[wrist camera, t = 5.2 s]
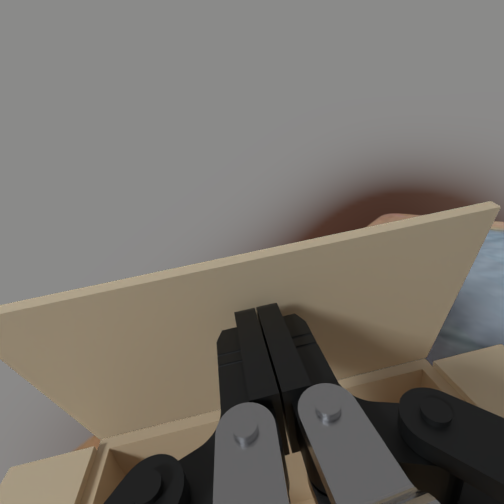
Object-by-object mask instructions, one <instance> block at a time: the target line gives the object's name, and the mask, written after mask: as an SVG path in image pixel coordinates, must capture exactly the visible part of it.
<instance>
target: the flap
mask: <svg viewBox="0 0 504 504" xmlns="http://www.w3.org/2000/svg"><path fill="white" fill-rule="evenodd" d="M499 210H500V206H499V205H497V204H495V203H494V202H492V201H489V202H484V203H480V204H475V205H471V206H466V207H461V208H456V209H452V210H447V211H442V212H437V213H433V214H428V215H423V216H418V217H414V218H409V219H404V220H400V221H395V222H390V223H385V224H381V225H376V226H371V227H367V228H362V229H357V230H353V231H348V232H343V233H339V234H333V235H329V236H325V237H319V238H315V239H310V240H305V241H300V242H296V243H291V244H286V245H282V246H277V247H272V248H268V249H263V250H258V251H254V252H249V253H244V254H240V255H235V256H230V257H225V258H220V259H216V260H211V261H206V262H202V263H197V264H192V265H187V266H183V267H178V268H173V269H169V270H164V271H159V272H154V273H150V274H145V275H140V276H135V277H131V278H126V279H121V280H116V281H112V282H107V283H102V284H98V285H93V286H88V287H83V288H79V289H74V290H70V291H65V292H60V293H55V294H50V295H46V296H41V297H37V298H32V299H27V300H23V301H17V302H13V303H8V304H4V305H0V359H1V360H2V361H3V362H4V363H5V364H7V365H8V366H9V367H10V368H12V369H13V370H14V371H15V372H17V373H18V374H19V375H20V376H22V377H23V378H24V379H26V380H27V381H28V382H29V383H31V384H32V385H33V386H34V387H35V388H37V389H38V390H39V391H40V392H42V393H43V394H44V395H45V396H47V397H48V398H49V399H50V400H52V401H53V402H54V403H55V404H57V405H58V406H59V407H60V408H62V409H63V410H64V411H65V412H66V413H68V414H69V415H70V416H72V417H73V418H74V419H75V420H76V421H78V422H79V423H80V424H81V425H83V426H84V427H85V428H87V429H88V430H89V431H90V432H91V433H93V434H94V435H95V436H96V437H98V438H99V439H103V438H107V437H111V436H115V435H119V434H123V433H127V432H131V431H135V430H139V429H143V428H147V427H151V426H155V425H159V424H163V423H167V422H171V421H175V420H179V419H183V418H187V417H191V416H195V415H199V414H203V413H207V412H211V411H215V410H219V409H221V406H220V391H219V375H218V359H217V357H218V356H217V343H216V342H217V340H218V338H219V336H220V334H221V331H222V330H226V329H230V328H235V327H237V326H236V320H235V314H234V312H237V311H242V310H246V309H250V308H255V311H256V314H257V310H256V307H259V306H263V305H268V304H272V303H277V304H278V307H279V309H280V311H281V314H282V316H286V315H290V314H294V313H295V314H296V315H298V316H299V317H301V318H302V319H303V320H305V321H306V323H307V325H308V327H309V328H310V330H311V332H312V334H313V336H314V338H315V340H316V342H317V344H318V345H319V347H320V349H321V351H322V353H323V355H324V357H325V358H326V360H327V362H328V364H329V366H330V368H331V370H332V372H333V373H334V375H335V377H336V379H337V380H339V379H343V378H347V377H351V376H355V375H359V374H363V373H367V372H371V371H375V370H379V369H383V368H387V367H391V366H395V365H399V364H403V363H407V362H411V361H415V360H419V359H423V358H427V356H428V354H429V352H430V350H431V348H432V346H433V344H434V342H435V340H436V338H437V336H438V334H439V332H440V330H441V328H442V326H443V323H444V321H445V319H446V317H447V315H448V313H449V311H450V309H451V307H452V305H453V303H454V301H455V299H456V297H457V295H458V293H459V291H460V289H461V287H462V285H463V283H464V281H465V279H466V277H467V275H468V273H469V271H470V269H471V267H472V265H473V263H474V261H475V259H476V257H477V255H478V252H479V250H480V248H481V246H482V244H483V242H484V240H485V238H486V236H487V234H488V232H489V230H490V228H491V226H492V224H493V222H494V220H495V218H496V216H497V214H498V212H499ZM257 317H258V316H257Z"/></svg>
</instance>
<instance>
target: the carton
mask: <svg viewBox="0 0 504 504" xmlns="http://www.w3.org/2000/svg"><path fill="white" fill-rule="evenodd" d="M337 381H338V382H339V384H340V385H341V386H342V387H343V388H344V389H346V390H347V391H349V392H350V393H351V394H352V395H353V396H355V397H357V398H360V399H363V400H367V401H374V402H390V403H399V401H400V398H401V397H402V395H403V394H404V393H405V392H407V391H408V390H410V389H414V388H419V387H425V388H432V389H436V390H439V391H442V392H445V393H447V394H449V395H452V396H454V397H456V398H459V399H461V400H463V401H466V402H468V403H470V404H472V405H475V406H477V407H479V408H482V409H484V410H486V411H489V412H491V413H493V414H496V415H498V416H500V417H503V418H504V345H502V344H499V345H495V346H491V347H487V348H483V349H479V350H475V351H471V352H467V353H463V354H459V355H455V356H451V357H447V358H443V359H439V360H435V361H433V366H432V365H431V364H430V363H429V362H428V361H427V360H426V359H421V360H417V361H413V362H409V363H405V364H401V365H397V366H393V367H389V368H385V369H381V370H377V371H373V372H369V373H365V374H361V375H357V376H353V377H349V378H345V379H341V380H337ZM220 415H221V410H217V411H213V412H209V413H205V414H201V415H197V416H193V417H189V418H185V419H181V420H177V421H173V422H169V423H165V424H161V425H157V426H153V427H149V428H145V429H141V430H137V431H133V432H129V433H125V434H121V435H117V436H113V437H109V438H105V439H101V441H100V444H99V447H98V450H96V449H95V447H94V446H93V447H89V448H86V449H82V450H78V451H74V452H70V453H66V454H62V455H58V456H54V457H50V458H46V459H42V460H38V461H34V462H30V463H26V464H22V465H18V466H14V467H10V469H9V470H8V472H7V474H6V476H5V477H4V479H3V481H2V483H1V484H0V504H104V502H105V501H106V500H107V499H108V497H109V496H110V495H111V493H112V492H113V491H114V490H115V488H116V487H117V486H118V485H119V483H120V482H121V481H122V480H123V478H124V477H125V476H126V475H127V473H128V472H129V471H130V470H131V469H132V468H133V467H134V466H135V465H136V464H138V463H139V462H141V461H142V460H144V459H146V458H147V457H150V456H153V455H157V454H167V455H171V456H173V457H174V458H176V459H177V460H180V459H182V458H183V457H185V456H186V455H188V454H190V453H191V452H193V451H194V450H196V449H197V448H199V447H200V446H202V445H203V444H204V443H205V442H206V441H207V440H208V439H209V438H210V437H211V436H212V434H213V433H214V431H215V430H216V428H217V425H218V423H219V420H220ZM286 435H287V432H286ZM287 440H288V436H287ZM288 446H289V452H290V454H289V455H285V460H286V465H287V471H288V476H289V482H290V490H289V496H290V502H291V504H315V501H314V498H313V495H312V493H311V490H310V487H309V484H308V479H307V471H306V467H305V464H304V461H303V458H302V454H301V451H299V452H296V453H292V451H291V447H290V443H289V440H288Z"/></svg>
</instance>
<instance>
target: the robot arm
mask: <svg viewBox="0 0 504 504" xmlns="http://www.w3.org/2000/svg"><path fill="white" fill-rule="evenodd" d="M256 310H257V314H256V311H255V308H250V309H246V310H242V311H237V312H234V314H235V320H236V326H237V327H235V328H230V329H226V330H222V331H221V334H220V336H219V338H218V340H217V342H216V343H217V356H218V357H217V359H218V375H219V391H220V406H221V415H220V420H219V423H218V425H217V428H216V430H215V431H214V433H213V434H212V436H211V437H210V438H209V439H208V440H207V441H206V442H205V443H204V444H203V445H202V446H200V447H199V448H197V449H196V450H194V451H193V452H191V453H190V454H188V455H186V456H185V457H183V458H182V459H180V460H177V459H176V458H174V457H173V456H171V455H167V454H157V455H153V456H150V457H147V458H146V459H144V460H142V461H141V462H139V463H138V464H136V465H135V466H134V467H133V468H132V469H131V470H130V471H129V472H128V473H127V475H126V476H125V477H124V478H123V480H122V481H121V482H120V483H119V485H118V486H117V487H116V488H115V490H114V491H113V492H112V493H111V495H110V496H109V497H108V499H107V500H106V501H105V502H104V504H291V502H290V496H289V490H290V482H289V476H288V471H287V465H286V460H285V455H289V454H290V452H289V446H288V440H289V443H290V447H291V451H292V453H296V452H299V451H301V454H302V458H303V461H304V464H305V467H306V471H307V479H308V484H309V487H310V490H311V493H312V495H313V498H314V501H315V504H504V418H503V417H500V416H498V415H496V414H493V413H491V412H489V411H486V410H484V409H482V408H479V407H477V406H475V405H472V404H470V403H468V402H466V401H463V400H461V399H459V398H456V397H454V396H452V395H449V394H447V393H445V392H442V391H439V390H436V389H432V388H425V387H419V388H414V389H410V390H408V391H407V392H405V393H404V394H403V395H402V397H401V398H400V401H399V403H390V402H374V401H367V400H363V399H360V398H357V397H355V396H353V395H352V394H351V393H350V392H349V391H347V390H346V389H344V388H343V387H342V386H341V385H340V384H339V382H338V381H337V379H336V377H335V375H334V373H333V372H332V370H331V368H330V366H329V364H328V362H327V360H326V358H325V357H324V355H323V353H322V351H321V349H320V347H319V345H318V344H317V342H316V340H315V338H314V336H313V334H312V332H311V330H310V328H309V327H308V325H307V323H306V321H305V320H303V319H302V318H301V317H299V316H298V315H296V314H295V313H294V314H290V315H286V316H282V314H281V311H280V309H279V307H278V304H277V303H272V304H268V305H263V306H259V307H256ZM257 316H258V317H257ZM286 432H287V435H286ZM287 436H288V440H287Z"/></svg>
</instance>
